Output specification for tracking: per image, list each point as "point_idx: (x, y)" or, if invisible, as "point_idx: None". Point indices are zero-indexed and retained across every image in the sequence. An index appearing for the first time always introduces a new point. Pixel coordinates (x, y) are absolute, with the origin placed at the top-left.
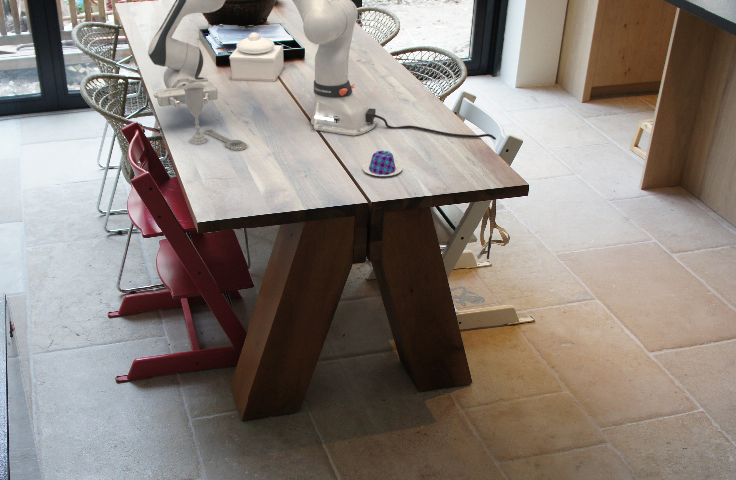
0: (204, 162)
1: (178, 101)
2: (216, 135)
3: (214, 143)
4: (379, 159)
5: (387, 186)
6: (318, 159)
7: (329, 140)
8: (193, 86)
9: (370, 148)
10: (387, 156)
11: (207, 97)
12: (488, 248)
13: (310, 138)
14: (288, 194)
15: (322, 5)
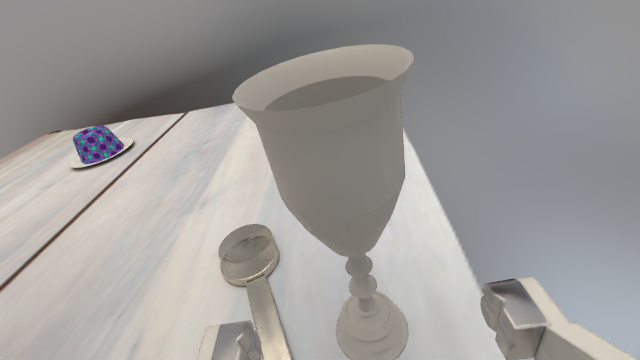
0: None
1: (498, 284)
2: (281, 351)
3: (310, 291)
4: (106, 127)
5: (143, 129)
6: (140, 182)
7: (25, 256)
8: (312, 128)
9: (24, 212)
10: (93, 127)
11: (206, 330)
12: None
13: (40, 275)
14: None
15: None
